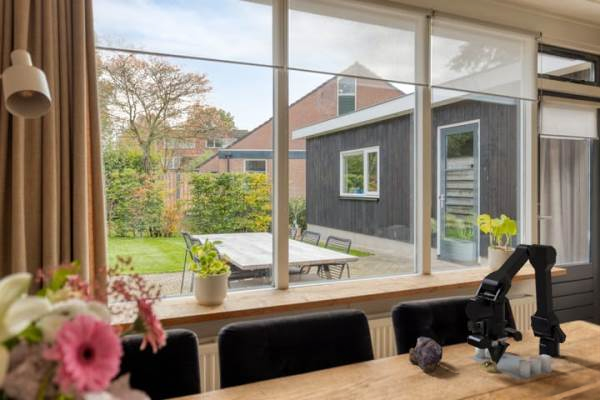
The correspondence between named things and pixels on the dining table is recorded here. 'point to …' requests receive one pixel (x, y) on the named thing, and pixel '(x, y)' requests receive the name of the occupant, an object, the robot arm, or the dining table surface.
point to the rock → (426, 354)
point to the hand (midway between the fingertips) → (495, 364)
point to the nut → (488, 366)
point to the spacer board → (517, 364)
